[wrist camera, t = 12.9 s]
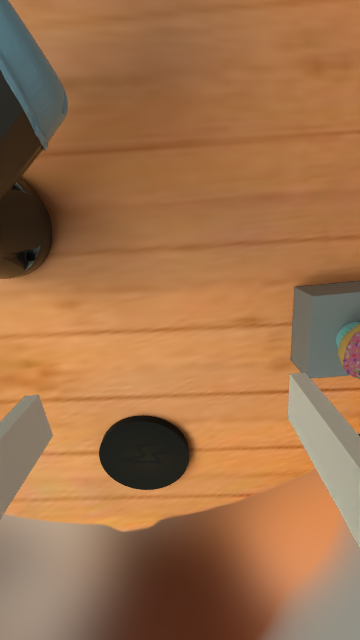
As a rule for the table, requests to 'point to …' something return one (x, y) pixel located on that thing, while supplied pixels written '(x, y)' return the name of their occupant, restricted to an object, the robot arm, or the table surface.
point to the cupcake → (349, 348)
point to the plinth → (322, 326)
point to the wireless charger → (144, 452)
